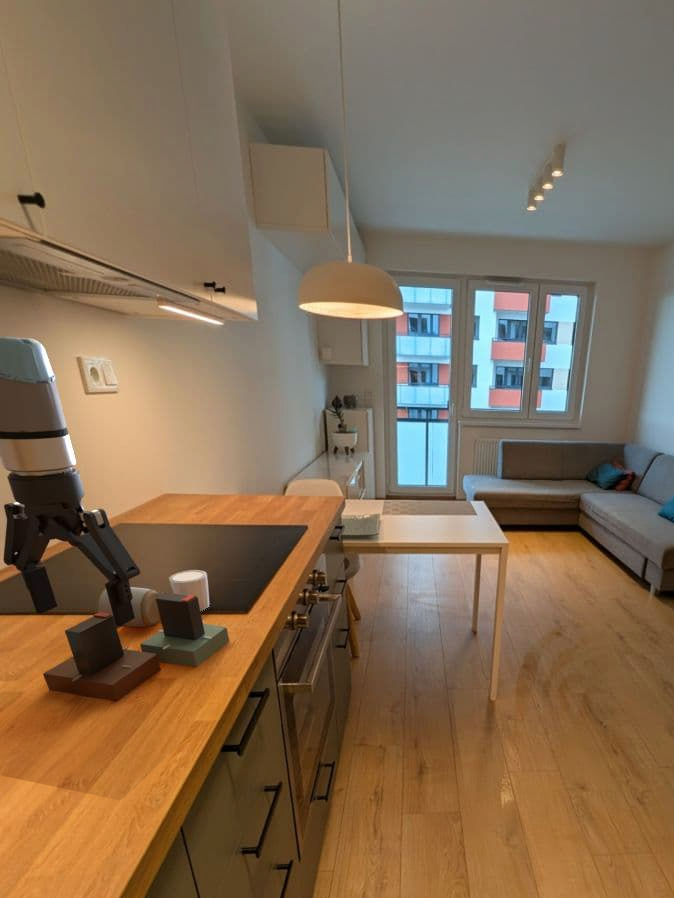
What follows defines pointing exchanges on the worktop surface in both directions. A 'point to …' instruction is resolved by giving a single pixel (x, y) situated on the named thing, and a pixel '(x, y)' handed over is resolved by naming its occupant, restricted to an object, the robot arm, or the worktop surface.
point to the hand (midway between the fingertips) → (85, 616)
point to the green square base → (187, 646)
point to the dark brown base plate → (104, 676)
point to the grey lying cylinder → (136, 607)
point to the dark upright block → (180, 616)
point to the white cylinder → (192, 585)
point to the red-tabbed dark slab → (94, 643)
